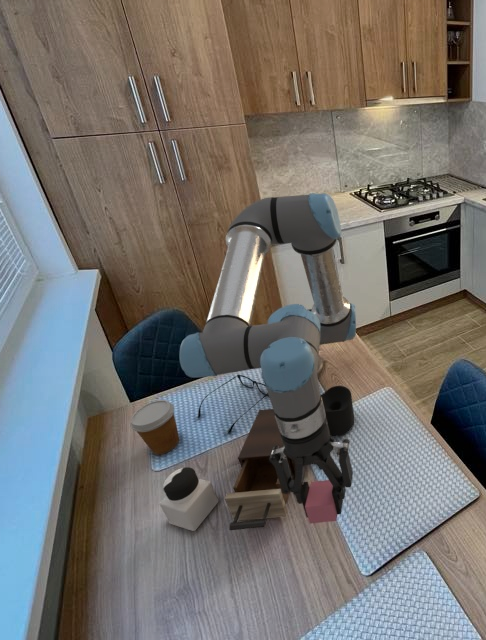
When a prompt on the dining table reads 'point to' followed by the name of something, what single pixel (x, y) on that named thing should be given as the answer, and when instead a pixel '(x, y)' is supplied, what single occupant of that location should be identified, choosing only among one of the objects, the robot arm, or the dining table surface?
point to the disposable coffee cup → (156, 426)
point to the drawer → (257, 494)
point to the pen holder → (338, 410)
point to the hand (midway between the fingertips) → (325, 508)
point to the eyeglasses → (242, 384)
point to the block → (320, 502)
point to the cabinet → (262, 438)
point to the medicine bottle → (187, 499)
